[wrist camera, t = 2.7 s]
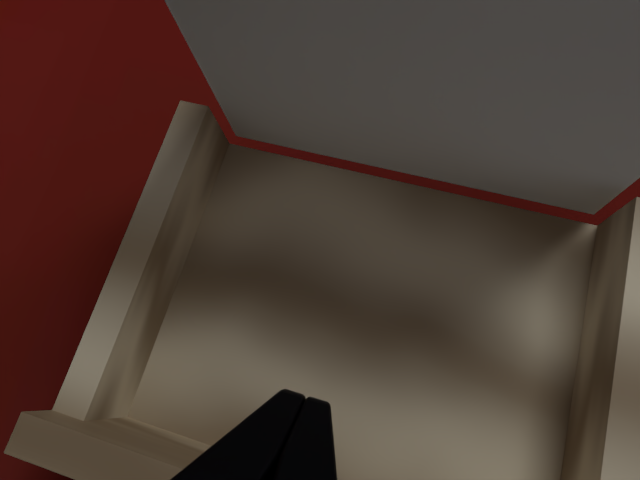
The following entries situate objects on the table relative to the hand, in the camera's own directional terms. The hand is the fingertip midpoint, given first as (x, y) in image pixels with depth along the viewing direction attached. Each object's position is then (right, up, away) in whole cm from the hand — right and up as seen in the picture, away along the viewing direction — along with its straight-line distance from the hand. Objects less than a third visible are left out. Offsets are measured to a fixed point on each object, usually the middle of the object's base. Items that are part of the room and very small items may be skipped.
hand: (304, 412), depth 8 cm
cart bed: (+2, -1, +13) cm, 13 cm away
